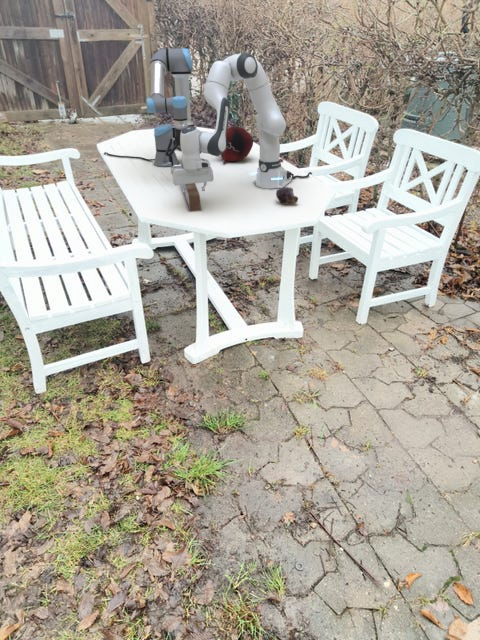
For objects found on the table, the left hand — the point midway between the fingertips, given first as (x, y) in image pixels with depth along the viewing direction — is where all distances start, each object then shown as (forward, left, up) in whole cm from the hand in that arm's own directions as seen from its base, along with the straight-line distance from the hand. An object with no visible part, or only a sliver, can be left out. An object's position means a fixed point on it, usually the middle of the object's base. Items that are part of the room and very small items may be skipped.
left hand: (184, 167), depth 258 cm
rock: (+66, +10, -9) cm, 67 cm away
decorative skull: (-11, +54, -9) cm, 56 cm away
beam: (+18, -13, -9) cm, 23 cm away
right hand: (+35, -25, 0) cm, 43 cm away
